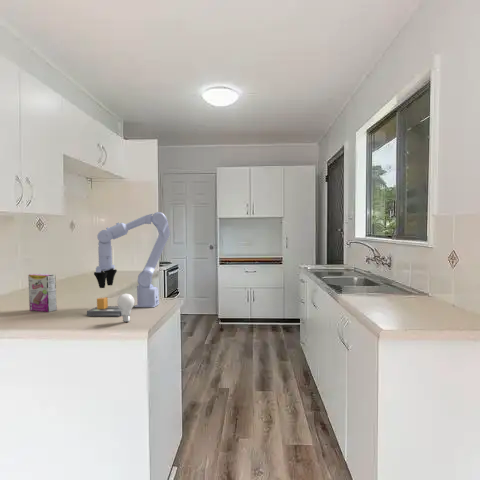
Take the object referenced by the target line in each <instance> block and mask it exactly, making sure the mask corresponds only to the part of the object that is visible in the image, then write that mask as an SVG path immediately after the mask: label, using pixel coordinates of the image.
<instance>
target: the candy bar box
mask: <svg viewBox="0 0 480 480" xmlns="http://www.w3.org/2000/svg"><path fill="white" fill-rule="evenodd" d="M27 276H28V298H29V299H28V300H29V302H28V303H29V305H28V306H29V311H30V312H41V313H51V311H52V312H55V311H57V285H56V283H57V282H56V273H55V274H54V273H30V274H28V275H27Z"/></svg>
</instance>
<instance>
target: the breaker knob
mask: <svg viewBox="0 0 480 480" xmlns="http://www.w3.org/2000/svg"><path fill="white" fill-rule="evenodd" d="M108 300H109V299H108V297H106V296H105V297H103V296H102V297H101V296H100V297H98V298H96V307H97V309H105V308H107V307H108V306H109V304H108Z"/></svg>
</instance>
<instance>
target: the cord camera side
mask: <svg viewBox="0 0 480 480" xmlns="http://www.w3.org/2000/svg"><path fill="white" fill-rule="evenodd" d="M90 317H100V318H101V317H105V318H106V317H108V318H109V317H110V318H111V317H112V318H113V317H114V318H118V317H119V318H120V317H121V316H120V314H93V313H91V314H90Z"/></svg>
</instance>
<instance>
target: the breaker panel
mask: <svg viewBox="0 0 480 480" xmlns="http://www.w3.org/2000/svg"><path fill="white" fill-rule="evenodd" d="M91 313H93V314H120V316H119V317H123V314H122V312H121V309H120V308H119V307H118V305H117V306H116V305H115V306H114V305H110V306H109V305H108V307H107V308H105V309H97V306H96V307H93V308H91V309H89V310H86V316H88V317H89V316H90V314H91ZM90 317H91V316H90Z"/></svg>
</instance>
